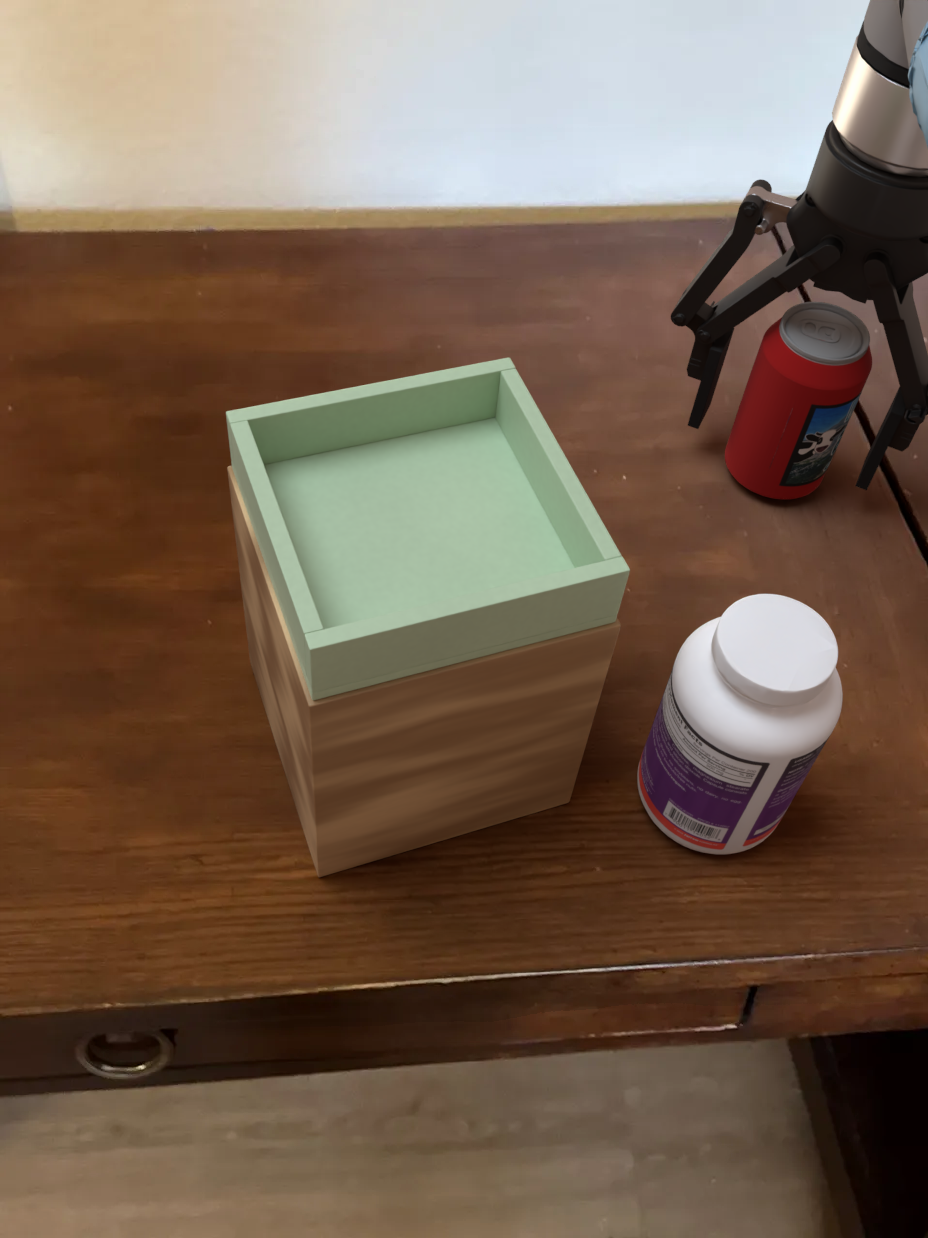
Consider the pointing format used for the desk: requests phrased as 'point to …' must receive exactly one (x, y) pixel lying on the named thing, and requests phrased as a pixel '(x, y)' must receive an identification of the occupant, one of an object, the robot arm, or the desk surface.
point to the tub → (420, 524)
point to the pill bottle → (740, 724)
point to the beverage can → (798, 400)
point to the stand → (420, 732)
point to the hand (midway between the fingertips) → (781, 444)
